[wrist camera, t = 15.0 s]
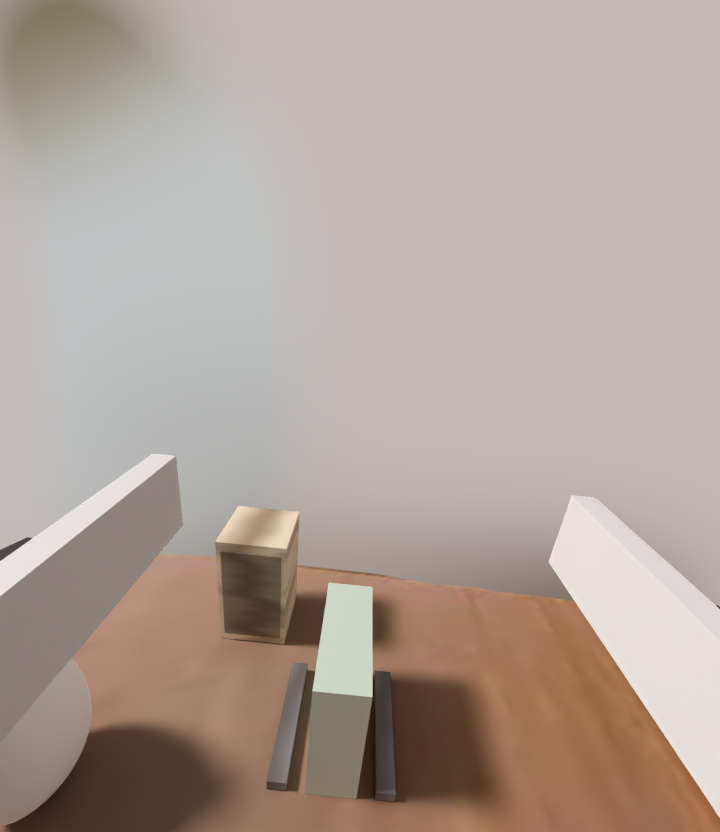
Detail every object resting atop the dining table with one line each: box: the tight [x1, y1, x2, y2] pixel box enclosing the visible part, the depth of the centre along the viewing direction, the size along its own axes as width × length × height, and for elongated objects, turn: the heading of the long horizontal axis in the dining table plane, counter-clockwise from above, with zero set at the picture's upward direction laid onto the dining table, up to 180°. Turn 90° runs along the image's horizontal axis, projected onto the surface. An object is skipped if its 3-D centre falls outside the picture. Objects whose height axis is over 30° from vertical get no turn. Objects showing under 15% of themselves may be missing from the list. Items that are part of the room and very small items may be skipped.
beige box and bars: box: [215, 506, 396, 802], centre depth 32 cm, size 18×18×13 cm
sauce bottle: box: [0, 658, 92, 827], centre depth 22 cm, size 8×8×18 cm
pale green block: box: [305, 583, 373, 799], centre depth 28 cm, size 4×9×12 cm, turn 178°
